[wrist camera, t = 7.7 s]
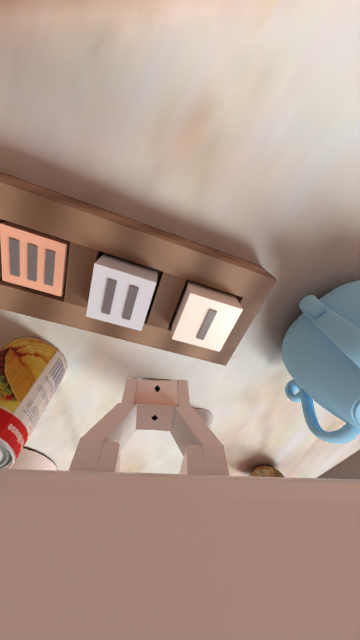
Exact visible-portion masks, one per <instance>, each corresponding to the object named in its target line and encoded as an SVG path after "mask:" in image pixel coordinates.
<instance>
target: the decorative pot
mask: <svg viewBox="0 0 360 640" xmlns="http://www.w3.org/2000/svg"><path fill="white" fill-rule="evenodd" d="M299 308H300V309H301V311H302V312H303V313H302V314H301V315H300V316H299V317H298V318H297V319H296V320H295V321H294V322H293V324H292V325H291V326H290V327H289V329H288V330H287V332H286V334H285V337H284V340H283V344H282V358H283V361H284V364H285V366H286V368H287V370H288V372H289V373H290V374H291V376H292V377H293V380H291V381H289V382H288V383H287V385H286V387H285V393H286V395H287V397H288V398H289V399H290V400H292V401H293V402H300V401H301V402H302V408H303V413H304V417H305V420H306V423H307V425H308V427H309V429H310V430H311V432H312V433H313V434H314V435H315V436H316V437H318V438H319V439H321V440H323V441H326V442H329V443H334V444H342V443H347V442H350V441H352V440H353V439H355V438H356V437H357V436H358V435H359V434H360V280H357V281H353V282H350V283H346V284H343V285H341V286H339V287H337V288H335V289H333V290H332V291H330V292H328V293H327V294H326V295H324V296H323V297H321V298H320V299H319V300H318V299H317V297H316V296H315V295H309V296H306V297H304V298H303V299H302V300H301V301H300V303H299ZM298 389H299V391H300V392H299V393H297V394H296V395H294V394H295V392H296V391H297V390H298ZM312 399H313V400H314V401H316V402H317V403H318V404H319V405H321V406H322V407H323V408H325V409H326V410H328V411H329V412H330V413H332V414H333V415H335V416H337V417H338V418H340V419H341V420H343V421H345V422H346V423H347V424H346V425H344V426H343V427H342V428H340V429H339V430H336V431H332V432H326V431H323V430H322V428H321V427H320V425H319V423H318V421H317V418H316V414H315V410H314V405H313V400H312Z"/></svg>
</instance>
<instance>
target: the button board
mask: <svg viewBox="0 0 360 640" xmlns="http://www.w3.org/2000/svg"><path fill="white" fill-rule="evenodd" d="M8 221H9V222H12V223H15V224H18V225H21V226H24V227H27V228H30V229H33V230H36V231H39V232H42V233H46V234H49V235H52V236H55V237H58V238H61V239H64V240H67V241H70V247H69V257H68V267H67V277H66V287H65V293H64V294H63V295H62V296H57V295H53V294H50V293H46V292H42V291H39V290H35V289H32V288H28V287H24V286H21V285H17V284H13V283H10V282H6V281H3V280H2V262H1V241H0V309H4V310H8V311H12V312H16V313H19V314H23V315H27V316H31V317H35V318H39V319H43V320H47V321H51V322H55V323H59V324H63V325H67V326H71V327H75V328H79V329H83V330H87V331H91V332H95V333H99V334H102V335H106V336H110V337H114V338H118V339H122V340H126V341H130V342H134V343H138V344H142V345H146V346H150V347H154V348H158V349H162V350H166V351H170V352H174V353H178V354H182V355H185V356H189V357H193V358H197V359H201V360H205V361H209V362H213V363H217V364H221V365H225V366H226V364H227V363H228V361H229V359H230V358H231V356H232V354H233V353H234V351H235V349H236V348H237V346H238V344H239V342H240V341H241V339H242V337H243V336H244V334H245V332H246V331H247V329H248V327H249V326H250V324H251V322H252V321H253V319H254V317H255V316H256V314H257V312H258V310H259V309H260V307H261V305H262V304H263V302H264V300H265V299H266V297H267V295H268V294H269V292H270V290H271V289H272V287H273V285H274V283H275V282H276V279H275V278H274V277H273V276H272V275H271V274H269V273H268V272H267V271H266V270H265V269H264V268H263V267H261V266H259V265H256V264H253V263H250V262H248V261H245V260H242V259H239V258H236V257H234V256H231V255H228V254H225V253H223V252H220V251H217V250H214V249H212V248H209V247H206V246H203V245H201V244H198V243H195V242H192V241H189V240H187V239H184V238H181V237H178V236H176V235H173V234H170V233H167V232H165V231H162V230H159V229H156V228H153V227H151V226H148V225H145V224H142V223H140V222H137V221H134V220H131V219H129V218H126V217H123V216H120V215H118V214H115V213H112V212H109V211H106V210H104V209H101V208H98V207H95V206H93V205H90V204H87V203H84V202H82V201H79V200H76V199H73V198H70V197H68V196H65V195H62V194H59V193H57V192H54V191H51V190H48V189H46V188H43V187H40V186H37V185H35V184H32V183H29V182H26V181H23V180H21V179H18V178H15V177H12V176H10V175H7V174H4V173H1V172H0V223H3V222H8ZM103 254H106V255H109V256H112V257H115V258H118V259H121V260H124V261H127V262H130V263H133V264H136V265H140V266H143V267H146V268H149V269H152V270H155V271H158V277H157V283H156V286H155V290H154V293H153V296H152V299H151V302H150V305H149V309H148V312H147V315H146V318H145V321H144V325H143V328H142V331H139V330H135V329H131V328H128V327H124V326H120V325H116V324H112V323H109V322H105V321H101V320H97V319H94V318H90V317H86V313H87V306H88V300H89V294H90V288H91V281H92V275H93V269H94V263H95V262H96V261H97V260H98V259H99V258H100V257H101V256H102V255H103ZM188 281H190V282H193V283H196V284H199V285H202V286H205V287H208V288H211V289H214V290H217V291H221V292H224V293H227V294H230V295H233V296H235V297H236V298H237V300H238V302H239V303H240V305H241V307H242V309H243V311H242V312H241V314H240V316H239V318H238V320H237V321H236V323H235V325H234V327H233V329H232V330H231V332H230V334H229V336H228V338H227V339H226V341H225V343H224V345H223V347H222V349H221V350H220V352H219V351H215V350H211V349H207V348H204V347H200V346H196V345H192V344H188V343H185V342H181V341H177V340H173V339H172V322H173V319H174V317H175V314H176V311H177V309H178V306H179V304H180V301H181V299H182V296H183V293H184V291H185V288H186V286H187V283H188Z"/></svg>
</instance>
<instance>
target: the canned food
mask: <svg viewBox="0 0 360 640" xmlns="http://www.w3.org/2000/svg"><path fill="white" fill-rule="evenodd" d="M66 370H67V362H66V359H65V357H64V355H63V354H62V353H61V352H60V350H59V349H57V348H56V347H55V346H53V345H52V344H50V343H48V342H46V341H44V340H41V339H38V338H32V337H22V338H17V339H14V340H12V341H10V342H9V343H8V344H7V345H6V346H5V347H4V348H3V349H2V350H0V469H10V468H11V467H12V465H13V464H14V462H15V461H16V459H17V457H18V455H19V454H20V452H21V450H22V448H23V447H24V445H25V443H26V441H27V440H28V438H29V436H30V434H31V433H32V431H33V429H34V427H35V426H36V424H37V422H38V420H39V419H40V417H41V415H42V413H43V412H44V410H45V408H46V406H47V405H48V403H49V401H50V399H51V398H52V396H53V394H54V392H55V390H56V389H57V387H58V385H59V383H60V382H61V380H62V378H63V376H64V375H65V373H66Z"/></svg>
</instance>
